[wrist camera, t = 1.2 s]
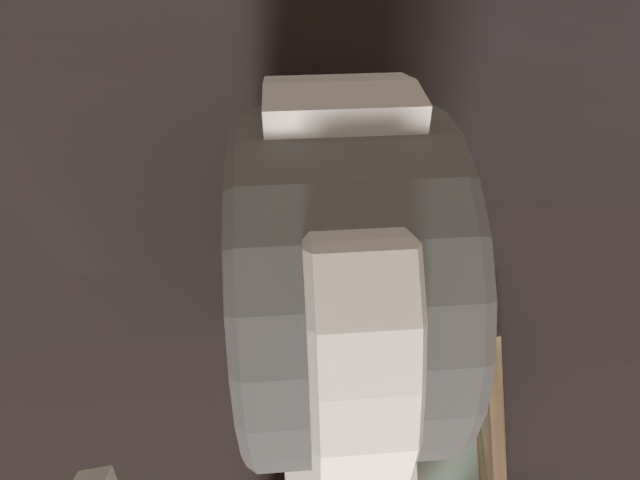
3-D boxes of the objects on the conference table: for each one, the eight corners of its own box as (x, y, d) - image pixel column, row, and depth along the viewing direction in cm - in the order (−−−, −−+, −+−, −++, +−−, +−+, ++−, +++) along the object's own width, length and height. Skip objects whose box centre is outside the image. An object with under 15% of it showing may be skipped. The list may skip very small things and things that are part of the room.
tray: (349, 574, 42) (356, 622, 39) (306, 339, 35) (309, 369, 31) (491, 548, 43) (511, 592, 39) (477, 310, 36) (500, 336, 32)
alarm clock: (250, 83, 30) (186, 62, 10) (384, 79, 30) (558, 52, 11) (267, 338, 35) (246, 638, 16) (381, 332, 36) (495, 613, 16)
